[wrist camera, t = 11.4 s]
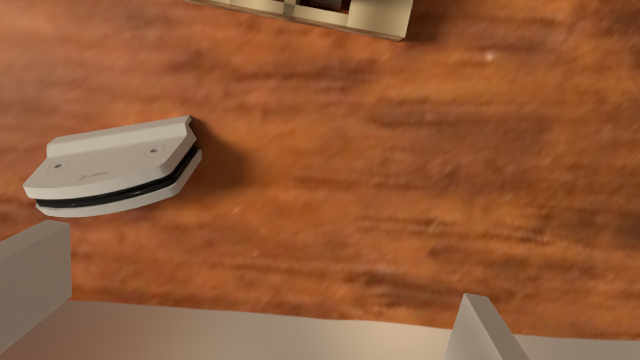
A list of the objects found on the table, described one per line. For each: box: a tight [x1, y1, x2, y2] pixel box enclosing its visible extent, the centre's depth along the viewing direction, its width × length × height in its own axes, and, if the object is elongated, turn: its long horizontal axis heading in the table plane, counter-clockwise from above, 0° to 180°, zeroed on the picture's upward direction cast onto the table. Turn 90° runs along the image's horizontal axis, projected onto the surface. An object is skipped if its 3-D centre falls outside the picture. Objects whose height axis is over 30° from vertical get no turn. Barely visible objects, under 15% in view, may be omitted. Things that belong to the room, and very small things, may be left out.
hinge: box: [23, 115, 202, 217], centre depth 38 cm, size 17×5×10 cm, turn 99°
